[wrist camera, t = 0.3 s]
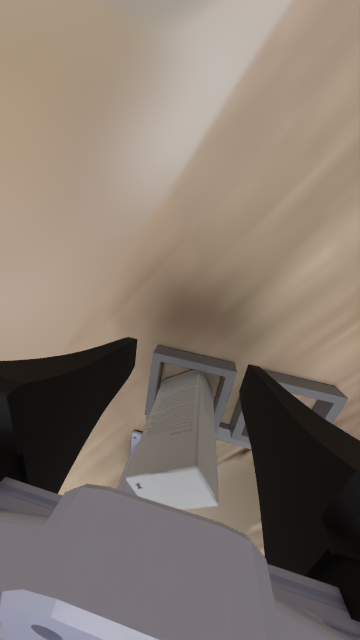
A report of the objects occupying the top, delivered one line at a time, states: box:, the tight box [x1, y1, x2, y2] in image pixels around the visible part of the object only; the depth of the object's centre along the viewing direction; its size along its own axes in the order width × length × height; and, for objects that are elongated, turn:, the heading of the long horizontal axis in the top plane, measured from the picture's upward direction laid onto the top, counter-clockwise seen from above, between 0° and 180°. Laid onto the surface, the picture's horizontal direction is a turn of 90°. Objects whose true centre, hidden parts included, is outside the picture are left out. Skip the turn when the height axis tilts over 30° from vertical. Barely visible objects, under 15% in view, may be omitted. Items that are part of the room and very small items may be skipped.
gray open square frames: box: [145, 345, 348, 449], centre depth 23 cm, size 12×22×2 cm, turn 80°
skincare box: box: [126, 370, 219, 510], centre depth 18 cm, size 6×4×12 cm
